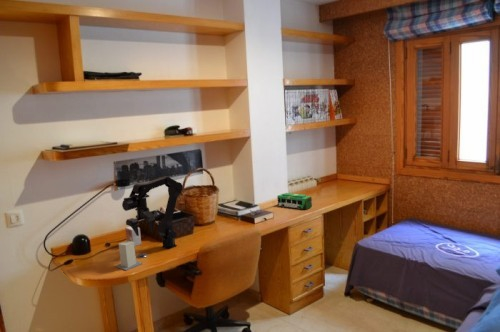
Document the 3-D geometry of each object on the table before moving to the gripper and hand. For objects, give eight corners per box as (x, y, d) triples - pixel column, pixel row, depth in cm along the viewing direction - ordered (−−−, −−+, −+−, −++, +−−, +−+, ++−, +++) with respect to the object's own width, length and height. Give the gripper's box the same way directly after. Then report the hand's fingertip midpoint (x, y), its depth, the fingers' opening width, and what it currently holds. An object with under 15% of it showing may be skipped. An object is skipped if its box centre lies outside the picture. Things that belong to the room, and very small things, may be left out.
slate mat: (131, 260, 222) (131, 259, 222) (142, 264, 215) (142, 263, 215) (115, 266, 214) (115, 265, 214) (126, 270, 208) (126, 269, 208)
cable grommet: (143, 253, 231) (143, 252, 231) (149, 255, 227) (149, 254, 227) (134, 256, 227) (134, 256, 227) (140, 258, 223) (140, 258, 223)
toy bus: (286, 203, 323) (285, 191, 321) (313, 208, 303) (312, 195, 302) (276, 206, 315) (275, 194, 314) (303, 211, 296) (303, 198, 294)
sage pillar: (129, 261, 219) (126, 240, 217) (136, 263, 216) (133, 241, 214) (121, 265, 214) (118, 243, 212) (128, 267, 211) (125, 245, 209)
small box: (126, 244, 250) (124, 227, 248) (135, 241, 253) (133, 225, 252) (133, 246, 244) (131, 230, 242) (141, 244, 248) (139, 227, 246)
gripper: (136, 212, 211) (139, 240, 213) (164, 204, 225) (167, 230, 227) (123, 209, 218) (127, 237, 220) (152, 201, 232) (154, 228, 234)
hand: (144, 233), depth 225 cm, fingers open, 9 cm apart
